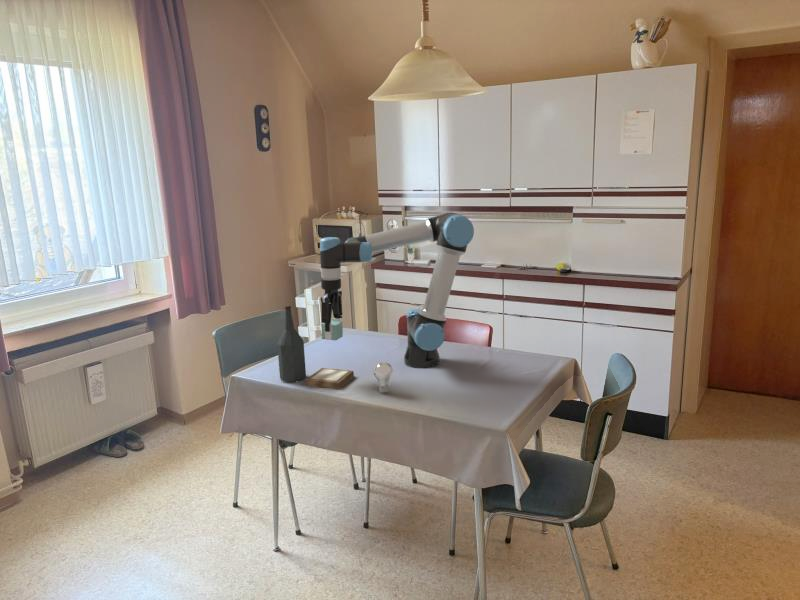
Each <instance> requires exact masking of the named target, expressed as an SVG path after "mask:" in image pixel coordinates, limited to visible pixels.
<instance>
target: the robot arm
mask: <svg viewBox="0 0 800 600" xmlns="http://www.w3.org/2000/svg"><path fill="white" fill-rule="evenodd" d="M474 235H475V229H474V224H473V223H472V221H471V220H470V219H469V218H468V217H466V216H465V215H463V214H458V213H455V212H446V213H443V214H439V215H435V216H433V217H429V218H426V219H425V221H422V222H419V223H413V224H410V225H407V226H406V225H405V226H402V227H398V228H397V227H396V228H392V229H388V230H384V231H383V230H382V231H379V232H374V233H371V234H367V235H364V236H363V235H362V236H359V237H357V236H353V237H349V238H347V240H346V241H345V242H341V239H340V238H339V237H335V236H329V237H323V238H321V239H320V243H319V256H320V257H319V258H320V276H321V280H320V284H321V285H320V286H321V289H322V290H324V295H323V296H321V297H320V302H321V303H320V304H321V321H320V322H321V324H322V323H325V339H324V340H327V339H329V341H333V340H332V323H331V321H340V319H343V303H342V301H343V300H342V299H343V297H342V294H343V291H342V290H340V289H341V288H342V279H341V277H342V272H341V271H342V270H341V268H342V267H341V263H367V262H368V263H369V262H371V261H372V259H373V254H374V253H378V252H379V253H380V252H383V251H384V252H385V251H388V250H392V249H395V248H400V247H401V248H402V247H405V246H409V245H413V244H414V245H415V244H418V243H423V242H426V241H429V242H431V243H433V242H434V243H435V242H436V247H437V249H438V253H437V256H436V260H435V264H434V267H433V271H432V275H431V278H430V281H429V286H428V290H427V293H426V296H425V300H424V304H423V308H413V309H409V310H407V313H406V328H407V333H406V334H407V347H406V350H405V353H404V357H403V361H404V364H405V365H406V366H408V367H412V368H429V367H434V366H437V365H439V364H440V362H441V358H440V357H441V356H440V354H439V351H438V349H439V348H440V347H441V346H442V345H443V343H444V342H445V337H446V334H445V325H446V323H447V320H448V319H447V317H446V316H445V312H446V308H447V305H448V301H449V298H450V294H451V290H452V287H453V283H454V280H455V277H456V274H457V273H456V272H457V269H458V266H459V261H460V259H461V256H462V255H464V254H465V253H466V252H467V248H468V245H469V244H470V243H471V241H472V240H473V238H474ZM332 315H333V318H332Z"/></svg>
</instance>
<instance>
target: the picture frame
mask: <svg viewBox="0 0 800 600" xmlns="http://www.w3.org/2000/svg"><path fill="white" fill-rule="evenodd" d="M354 372H355V371H354V370H347V369H340V368H339V369H338V368H326V367H325V368H324V367H322V368H320V369H319V370H317V371H316V372H314V373H313V374H312V375H310V376H309V377H307V378H306V379H305V386H306V387H312V388H313V387H315V388H322V389H323V388H324V389H333V390H340V389H341V388H342V387H344V386H345V385H346V384H347V383H349V381H351V380H352V379H353V378H354V377H355V373H354Z"/></svg>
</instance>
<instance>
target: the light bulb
mask: <svg viewBox="0 0 800 600" xmlns="http://www.w3.org/2000/svg"><path fill="white" fill-rule="evenodd" d="M393 372H394V370H393V367H392V365H391V364H390V363H388V362H386V361H379V362H378V363H376V365H374V368H373V375H374V377H375V379H376V381H377V383H378V385H379V391H380V392H381V393H382V394H386V393H387V392H388V391H389V383H390V379H391V378H392V377H393Z"/></svg>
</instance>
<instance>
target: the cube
mask: <svg viewBox="0 0 800 600" xmlns="http://www.w3.org/2000/svg"><path fill="white" fill-rule="evenodd" d="M331 323H332V340H331V341H337V340H339V339H341V338H343V334H344V331H343V327H344V326H343V321H333V320H331ZM321 339H322V340H329V339H325V323H322V322H321ZM329 341H330V340H329Z"/></svg>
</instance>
